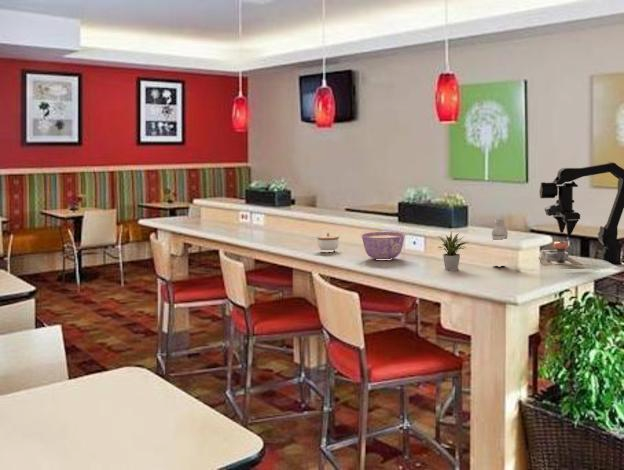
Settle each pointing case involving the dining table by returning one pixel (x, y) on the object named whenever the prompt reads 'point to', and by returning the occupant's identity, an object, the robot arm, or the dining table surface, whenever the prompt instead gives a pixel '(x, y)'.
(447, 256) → the house plant
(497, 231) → the plastic bottle
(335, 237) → the lidded jar
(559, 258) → the copper knob
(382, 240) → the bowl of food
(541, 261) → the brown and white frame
